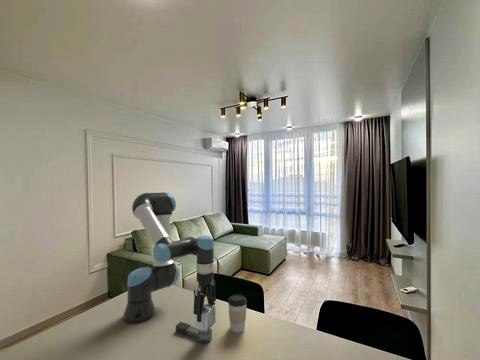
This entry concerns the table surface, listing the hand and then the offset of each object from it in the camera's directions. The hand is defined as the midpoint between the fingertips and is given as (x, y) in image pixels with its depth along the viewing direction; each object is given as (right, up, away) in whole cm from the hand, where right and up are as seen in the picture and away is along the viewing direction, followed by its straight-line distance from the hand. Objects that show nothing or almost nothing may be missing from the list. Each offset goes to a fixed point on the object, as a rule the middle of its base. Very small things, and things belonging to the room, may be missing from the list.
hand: (205, 323), depth 101 cm
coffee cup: (+14, -7, +8) cm, 18 cm away
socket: (0, 0, 0) cm, 0 cm away
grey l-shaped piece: (-6, -7, +3) cm, 9 cm away
